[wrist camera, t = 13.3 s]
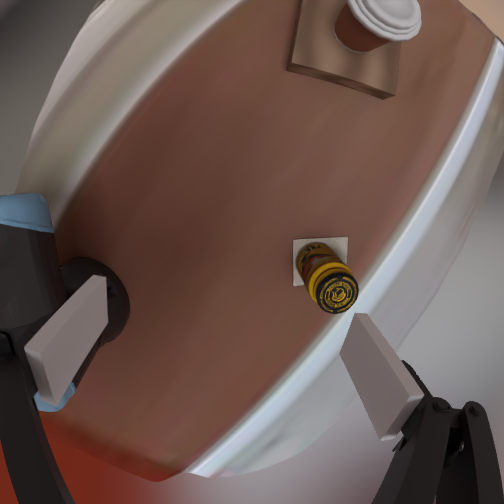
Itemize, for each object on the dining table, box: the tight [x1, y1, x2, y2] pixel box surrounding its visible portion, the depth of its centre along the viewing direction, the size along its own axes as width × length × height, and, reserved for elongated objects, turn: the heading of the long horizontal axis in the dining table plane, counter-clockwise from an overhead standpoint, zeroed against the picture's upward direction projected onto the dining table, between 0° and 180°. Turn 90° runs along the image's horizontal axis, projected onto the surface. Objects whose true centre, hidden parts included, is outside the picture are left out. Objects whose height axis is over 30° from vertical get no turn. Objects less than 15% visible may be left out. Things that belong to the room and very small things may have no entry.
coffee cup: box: [333, 0, 421, 54], centre depth 25 cm, size 9×9×12 cm
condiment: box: [293, 237, 359, 314], centre depth 39 cm, size 7×8×12 cm
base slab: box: [287, 0, 401, 99], centre depth 32 cm, size 15×15×4 cm
